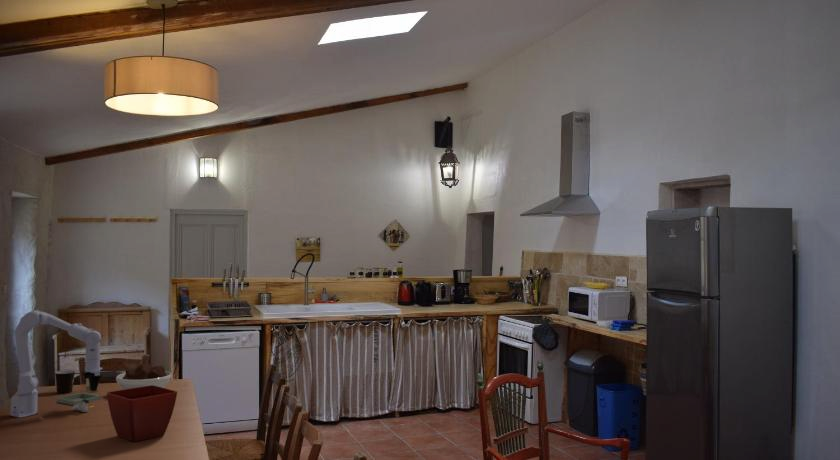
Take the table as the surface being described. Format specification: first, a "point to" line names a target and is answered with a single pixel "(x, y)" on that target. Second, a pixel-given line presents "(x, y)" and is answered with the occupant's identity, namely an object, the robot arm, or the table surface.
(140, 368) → the white bowl of food
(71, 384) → the coffee mug
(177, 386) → the table surface
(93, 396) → the tray
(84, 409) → the crank
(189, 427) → the table surface
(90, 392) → the wooden block
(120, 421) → the plant pot
